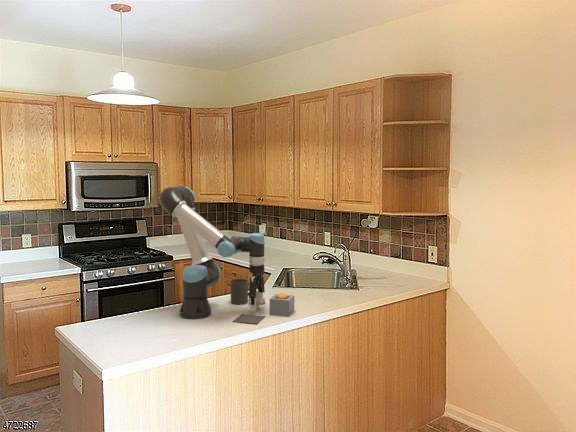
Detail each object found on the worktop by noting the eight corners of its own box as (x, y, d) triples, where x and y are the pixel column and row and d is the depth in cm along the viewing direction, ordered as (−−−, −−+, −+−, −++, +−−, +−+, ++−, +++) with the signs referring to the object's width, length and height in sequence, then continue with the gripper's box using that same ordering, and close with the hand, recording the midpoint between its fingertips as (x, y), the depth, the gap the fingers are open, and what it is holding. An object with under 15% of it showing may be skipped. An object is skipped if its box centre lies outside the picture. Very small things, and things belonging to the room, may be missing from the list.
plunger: (275, 300, 243) (275, 295, 242) (278, 298, 248) (278, 293, 247) (285, 301, 241) (285, 296, 241) (288, 298, 246) (288, 293, 246)
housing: (269, 314, 242) (269, 298, 241) (275, 309, 251) (275, 293, 250) (289, 316, 239) (289, 300, 238) (294, 310, 249) (294, 295, 248)
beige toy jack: (256, 307, 255) (256, 288, 254) (270, 310, 248) (270, 291, 247) (242, 311, 247) (242, 292, 246) (257, 315, 241) (257, 295, 240)
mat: (232, 322, 230) (232, 321, 230) (241, 314, 241) (241, 313, 241) (256, 324, 227) (256, 323, 227) (264, 317, 238) (264, 316, 238)
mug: (237, 306, 257) (237, 283, 255) (227, 302, 263) (227, 280, 262) (257, 301, 266) (257, 279, 265) (247, 297, 273) (247, 276, 271)
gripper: (256, 269, 234) (256, 314, 236) (270, 260, 255) (270, 302, 257) (241, 268, 236) (241, 313, 238) (257, 259, 257) (257, 301, 259)
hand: (256, 307), depth 248 cm, fingers closed on beige toy jack, 10 cm apart
